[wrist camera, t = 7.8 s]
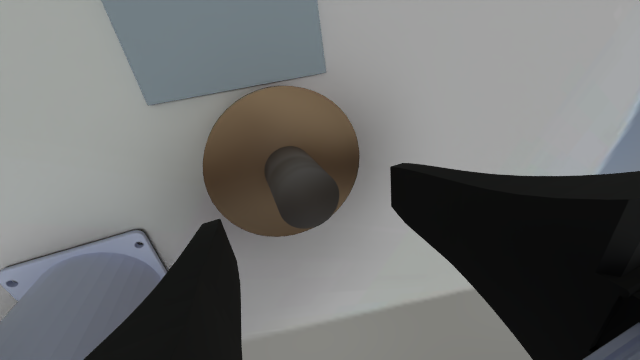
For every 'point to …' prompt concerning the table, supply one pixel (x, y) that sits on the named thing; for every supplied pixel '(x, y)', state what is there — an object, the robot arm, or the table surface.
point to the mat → (216, 44)
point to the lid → (280, 161)
